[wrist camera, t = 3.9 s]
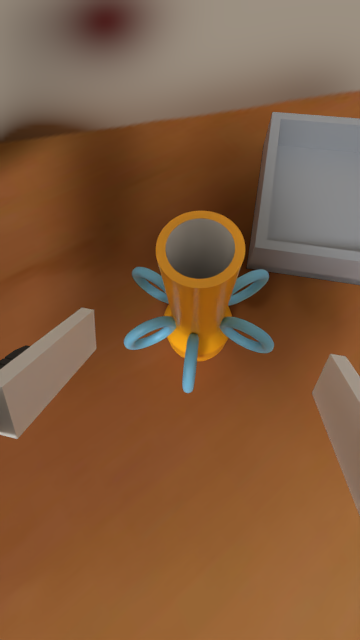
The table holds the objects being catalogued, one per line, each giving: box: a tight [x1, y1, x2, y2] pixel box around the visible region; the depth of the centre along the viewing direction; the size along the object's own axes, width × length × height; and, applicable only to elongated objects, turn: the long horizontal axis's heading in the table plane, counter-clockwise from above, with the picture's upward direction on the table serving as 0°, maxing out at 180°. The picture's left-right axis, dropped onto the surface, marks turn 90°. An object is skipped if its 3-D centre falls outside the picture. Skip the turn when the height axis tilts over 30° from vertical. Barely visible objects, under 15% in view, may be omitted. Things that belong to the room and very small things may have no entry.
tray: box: [247, 112, 360, 285], centre depth 27 cm, size 16×18×4 cm
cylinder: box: [124, 211, 274, 393], centre depth 18 cm, size 12×10×15 cm
